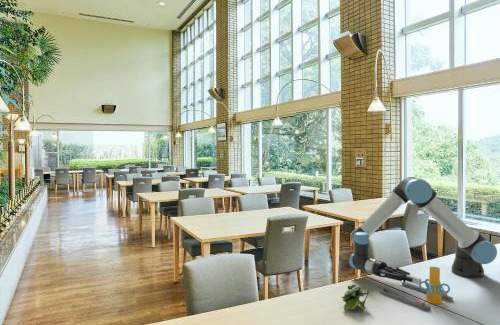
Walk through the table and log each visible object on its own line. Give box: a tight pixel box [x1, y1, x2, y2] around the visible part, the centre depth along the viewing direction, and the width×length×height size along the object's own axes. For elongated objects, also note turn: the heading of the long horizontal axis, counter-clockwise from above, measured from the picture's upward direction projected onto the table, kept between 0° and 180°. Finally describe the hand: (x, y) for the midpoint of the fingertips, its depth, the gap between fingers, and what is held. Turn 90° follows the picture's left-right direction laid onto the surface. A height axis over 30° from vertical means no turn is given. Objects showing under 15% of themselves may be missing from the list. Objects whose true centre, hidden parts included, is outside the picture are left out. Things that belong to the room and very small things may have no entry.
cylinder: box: [418, 266, 451, 305], centre depth 162 cm, size 12×10×15 cm
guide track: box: [379, 281, 454, 312], centre depth 168 cm, size 24×19×2 cm
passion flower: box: [341, 284, 370, 311], centre depth 157 cm, size 11×11×12 cm
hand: (420, 281), depth 166 cm, fingers closed
